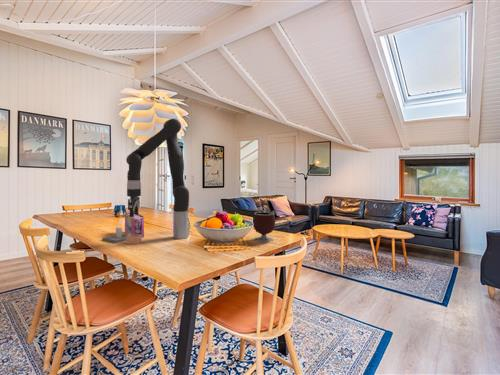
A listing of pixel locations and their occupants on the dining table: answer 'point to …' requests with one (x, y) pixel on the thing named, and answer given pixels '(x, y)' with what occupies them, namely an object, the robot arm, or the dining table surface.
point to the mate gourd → (264, 225)
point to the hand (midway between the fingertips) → (134, 215)
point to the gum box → (134, 224)
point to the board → (114, 239)
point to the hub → (133, 239)
